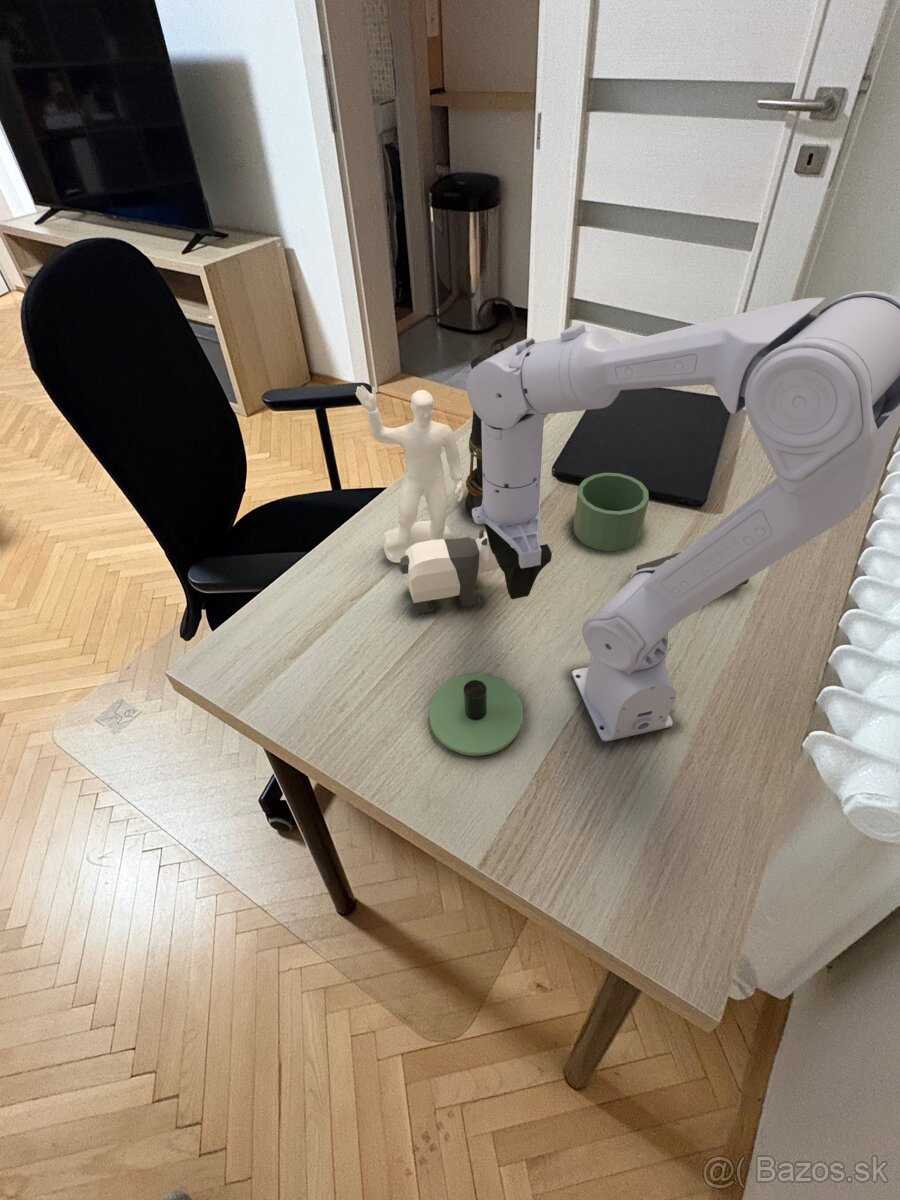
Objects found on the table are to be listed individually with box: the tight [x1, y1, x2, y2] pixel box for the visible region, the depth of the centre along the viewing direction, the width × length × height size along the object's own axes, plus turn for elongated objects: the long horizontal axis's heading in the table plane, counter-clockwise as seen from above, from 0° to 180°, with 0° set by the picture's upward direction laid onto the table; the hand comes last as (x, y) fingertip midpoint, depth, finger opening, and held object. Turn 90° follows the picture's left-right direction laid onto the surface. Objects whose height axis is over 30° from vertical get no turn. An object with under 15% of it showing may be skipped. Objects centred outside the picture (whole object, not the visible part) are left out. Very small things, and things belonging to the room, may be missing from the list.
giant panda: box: [399, 528, 513, 615], centre depth 78 cm, size 15×6×10 cm, turn 101°
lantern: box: [464, 296, 518, 520], centre depth 83 cm, size 9×9×30 cm
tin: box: [573, 472, 650, 552], centre depth 86 cm, size 9×9×6 cm
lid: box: [428, 673, 524, 756], centre depth 66 cm, size 10×10×5 cm
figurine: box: [355, 384, 464, 564], centre depth 78 cm, size 12×8×25 cm
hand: (509, 572), depth 70 cm, fingers open, 7 cm apart
